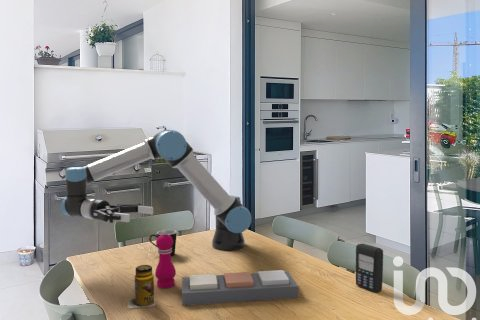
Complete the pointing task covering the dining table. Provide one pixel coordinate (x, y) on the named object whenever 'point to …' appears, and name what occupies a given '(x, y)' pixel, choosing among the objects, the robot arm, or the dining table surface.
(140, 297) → the condiment
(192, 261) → the dining table surface
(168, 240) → the pepper mill
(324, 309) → the dining table surface
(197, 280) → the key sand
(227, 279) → the key terracotta
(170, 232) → the coffee mug
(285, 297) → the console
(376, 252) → the card reader
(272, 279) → the key grey
